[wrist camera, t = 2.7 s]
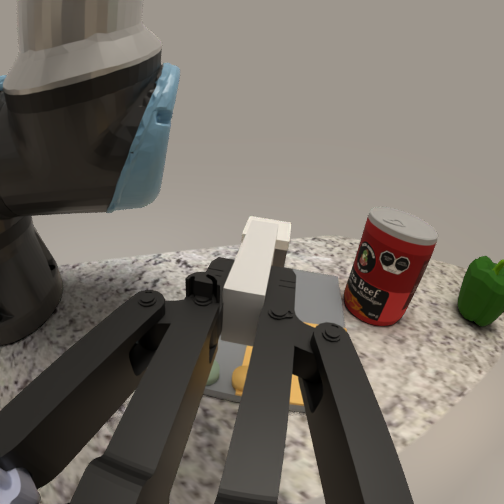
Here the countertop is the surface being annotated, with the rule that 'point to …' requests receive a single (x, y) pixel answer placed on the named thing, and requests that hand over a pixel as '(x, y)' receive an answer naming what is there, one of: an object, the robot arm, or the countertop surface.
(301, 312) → the panel
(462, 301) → the bell pepper
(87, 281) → the countertop surface
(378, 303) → the canned food
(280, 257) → the toggle
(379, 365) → the countertop surface
